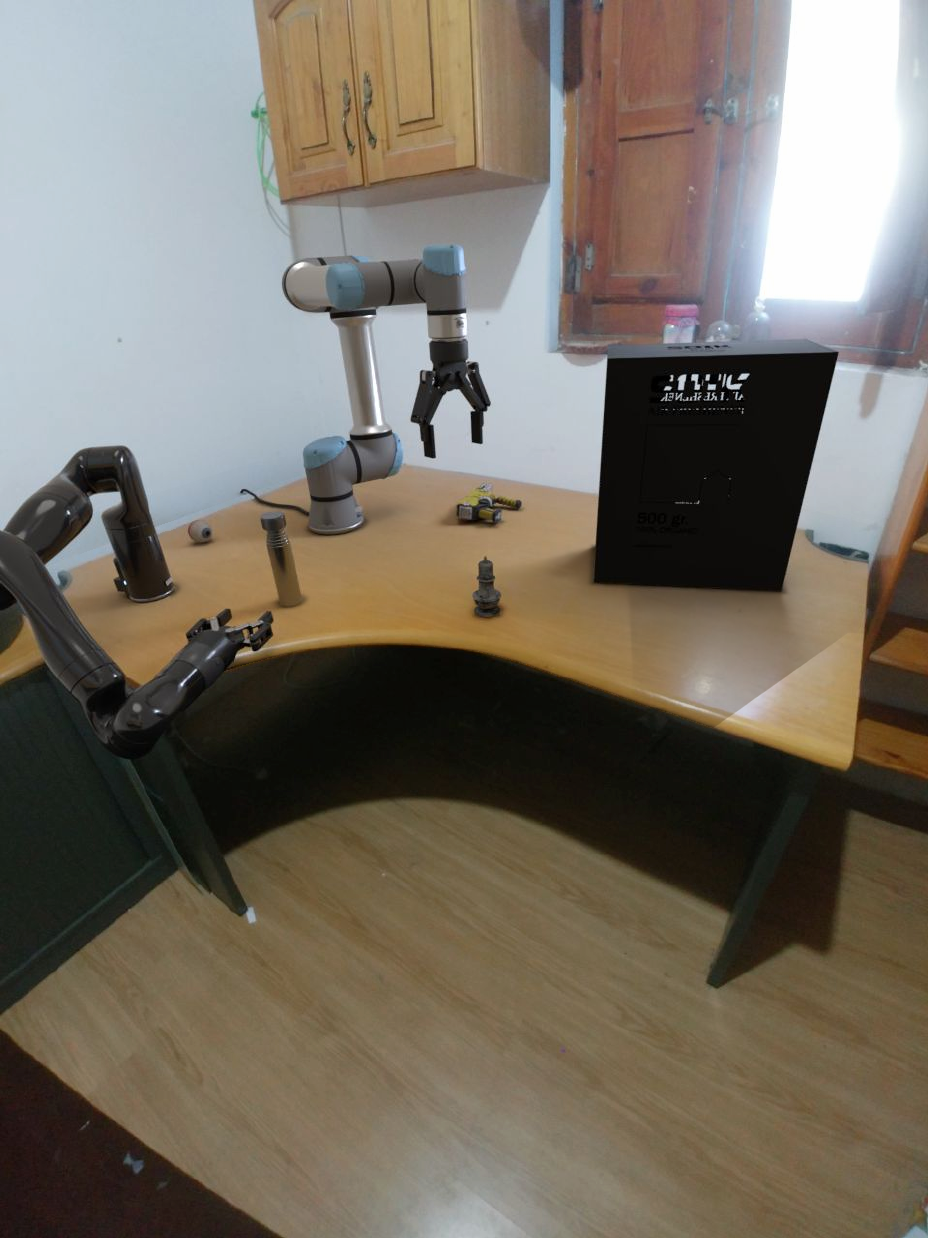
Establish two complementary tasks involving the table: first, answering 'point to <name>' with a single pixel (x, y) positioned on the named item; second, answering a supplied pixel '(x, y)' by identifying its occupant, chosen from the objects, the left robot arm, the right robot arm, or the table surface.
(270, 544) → the bottle
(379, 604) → the table surface
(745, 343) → the cardboard box
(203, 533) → the eyeball
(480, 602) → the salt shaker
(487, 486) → the toy gun
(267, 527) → the cap
